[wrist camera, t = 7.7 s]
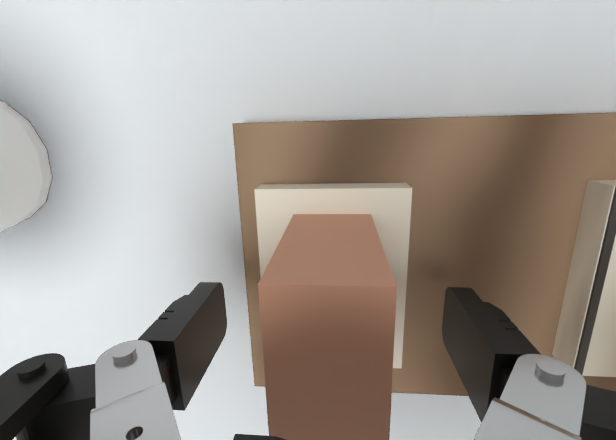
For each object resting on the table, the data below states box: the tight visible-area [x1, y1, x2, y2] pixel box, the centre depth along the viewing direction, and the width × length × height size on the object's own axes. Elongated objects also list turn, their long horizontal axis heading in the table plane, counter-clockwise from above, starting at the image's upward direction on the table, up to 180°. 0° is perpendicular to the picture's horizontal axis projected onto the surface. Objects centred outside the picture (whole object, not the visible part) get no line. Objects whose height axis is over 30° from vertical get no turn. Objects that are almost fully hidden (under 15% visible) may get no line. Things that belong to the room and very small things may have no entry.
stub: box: [254, 183, 412, 440], centre depth 11 cm, size 6×8×7 cm
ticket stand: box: [233, 113, 616, 396], centre depth 14 cm, size 22×13×4 cm, turn 92°
